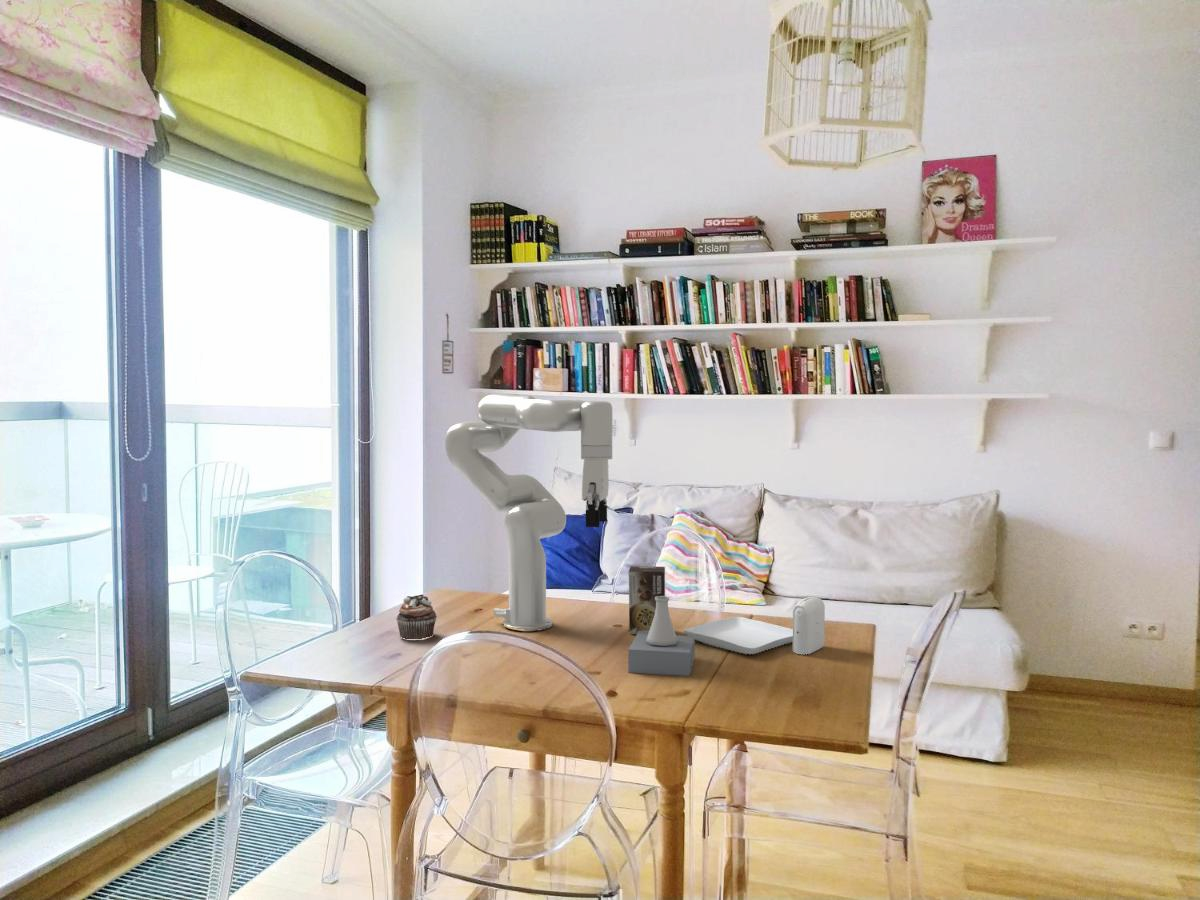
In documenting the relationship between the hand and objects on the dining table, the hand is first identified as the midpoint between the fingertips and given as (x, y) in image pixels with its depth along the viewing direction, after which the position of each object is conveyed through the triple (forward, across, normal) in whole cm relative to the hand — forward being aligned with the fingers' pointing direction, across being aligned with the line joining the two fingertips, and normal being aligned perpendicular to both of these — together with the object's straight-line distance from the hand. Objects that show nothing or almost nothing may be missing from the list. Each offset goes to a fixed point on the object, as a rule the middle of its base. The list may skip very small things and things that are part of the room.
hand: (596, 524), depth 213 cm
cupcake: (+29, +5, -44) cm, 53 cm away
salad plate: (+29, -5, +35) cm, 46 cm away
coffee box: (+28, -10, +11) cm, 32 cm away
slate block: (+28, +17, +18) cm, 38 cm away
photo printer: (+29, -1, +50) cm, 58 cm away
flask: (+24, +17, +18) cm, 34 cm away
